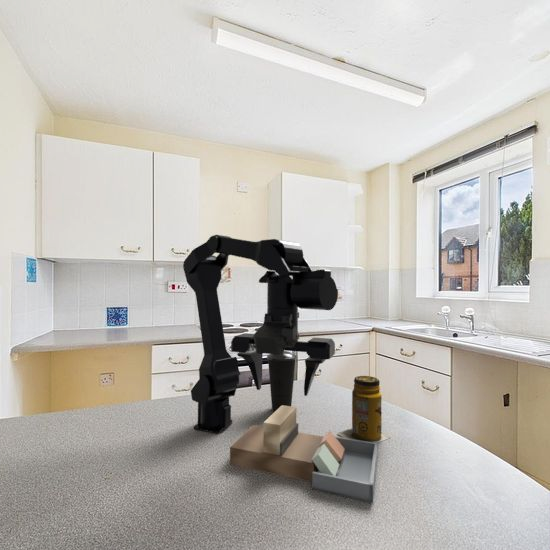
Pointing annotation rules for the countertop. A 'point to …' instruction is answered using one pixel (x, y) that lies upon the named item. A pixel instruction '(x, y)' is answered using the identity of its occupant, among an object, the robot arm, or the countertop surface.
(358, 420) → the condiment
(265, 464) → the walnut board
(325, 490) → the tray
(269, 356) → the drinking cup
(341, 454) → the tile terracotta
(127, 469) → the countertop surface
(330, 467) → the tile sage
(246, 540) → the countertop surface
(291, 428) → the tall cream block
